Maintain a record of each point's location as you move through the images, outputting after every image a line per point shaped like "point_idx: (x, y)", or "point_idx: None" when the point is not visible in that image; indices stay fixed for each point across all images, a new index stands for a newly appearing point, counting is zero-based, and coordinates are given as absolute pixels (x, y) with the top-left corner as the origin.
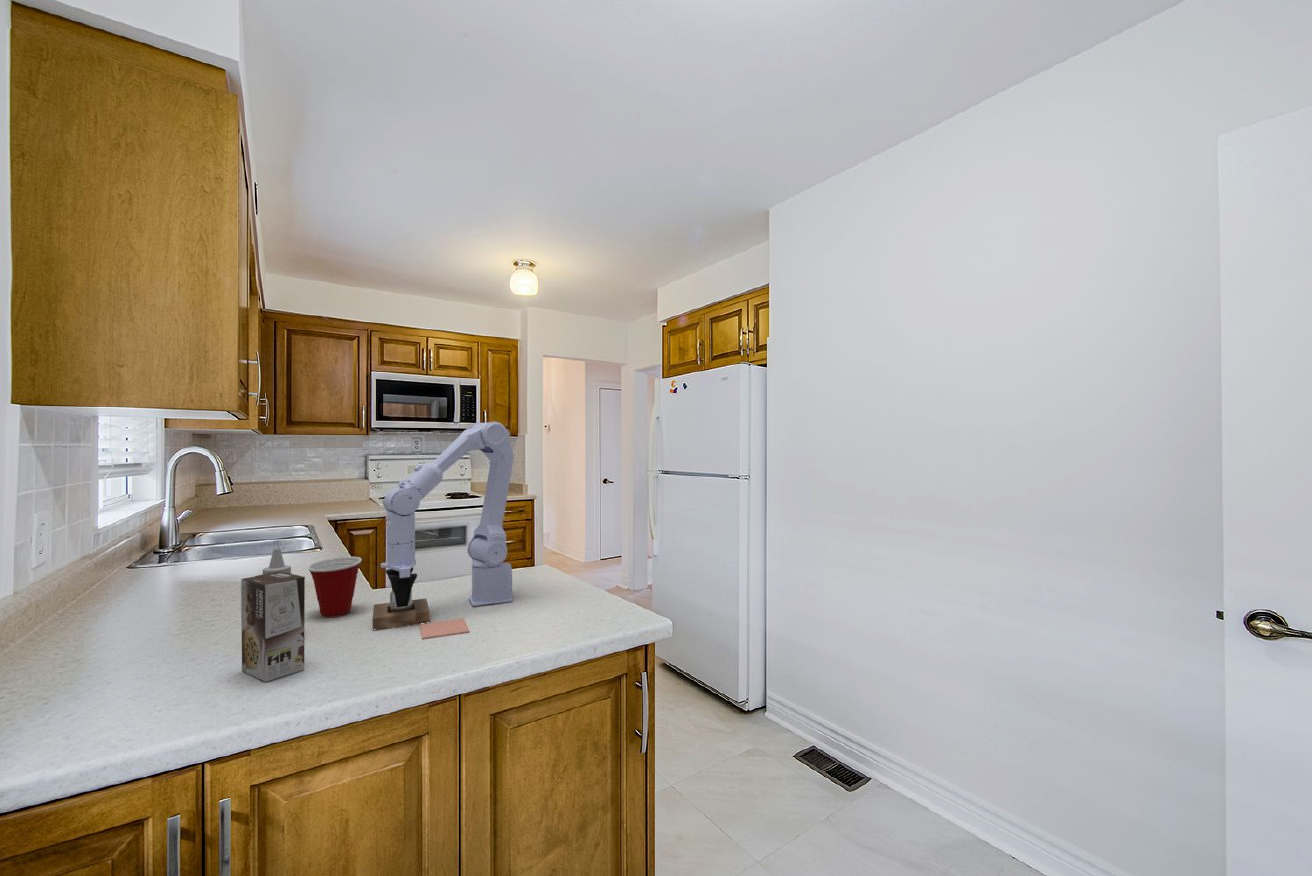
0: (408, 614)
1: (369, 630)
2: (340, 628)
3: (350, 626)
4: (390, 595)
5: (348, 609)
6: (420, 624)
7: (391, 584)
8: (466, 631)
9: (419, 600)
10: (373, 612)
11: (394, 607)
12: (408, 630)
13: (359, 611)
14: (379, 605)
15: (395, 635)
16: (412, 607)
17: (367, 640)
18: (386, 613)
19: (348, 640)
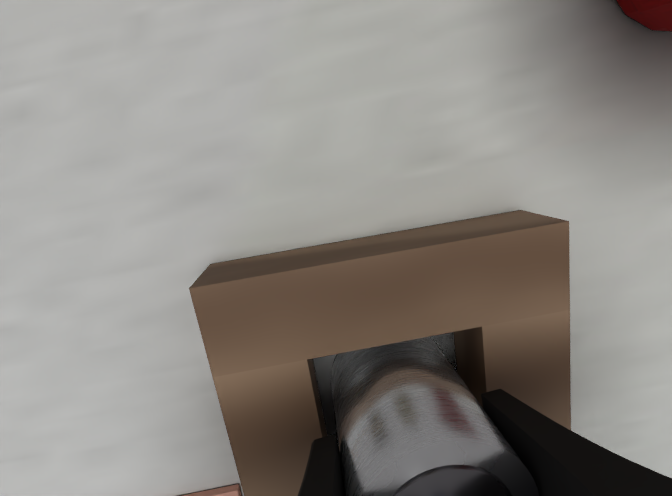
0: (243, 485)
1: (226, 243)
2: (318, 48)
3: (342, 108)
4: (407, 438)
5: (664, 22)
6: (232, 494)
7: (583, 486)
8: None
9: None
10: (351, 262)
11: (348, 408)
12: (174, 444)
13: (658, 98)
14: (524, 268)
15: (99, 398)
16: None
17: (33, 270)
18: (297, 355)
19: (50, 157)
